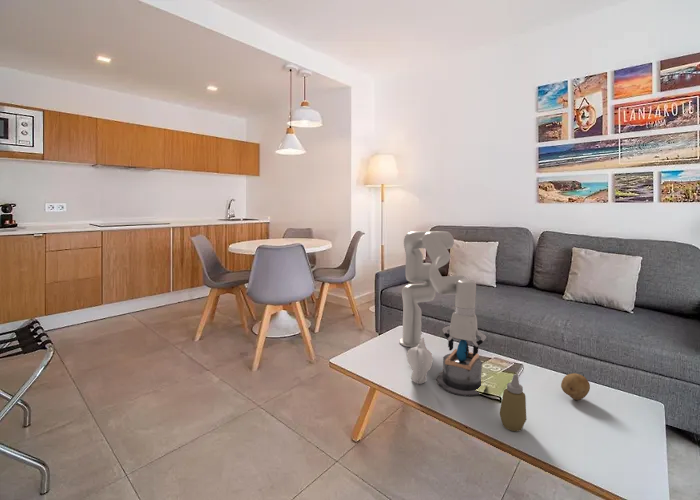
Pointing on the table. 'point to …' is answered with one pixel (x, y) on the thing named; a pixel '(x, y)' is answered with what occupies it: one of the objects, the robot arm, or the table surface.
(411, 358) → the shell sculpture
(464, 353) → the ornament
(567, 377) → the natural sponge
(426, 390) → the table surface
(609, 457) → the table surface
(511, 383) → the squeeze bottle
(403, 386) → the table surface
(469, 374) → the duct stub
